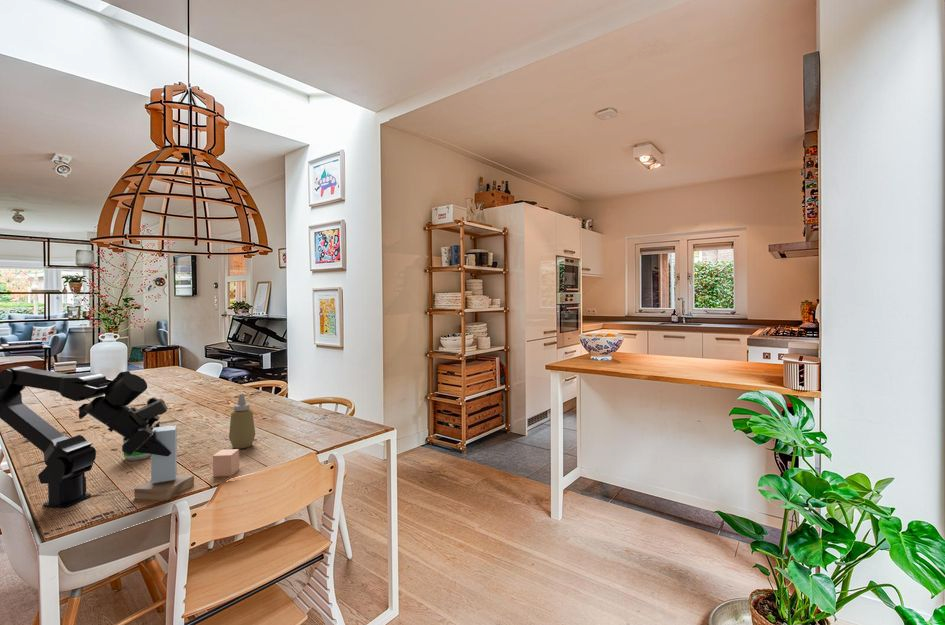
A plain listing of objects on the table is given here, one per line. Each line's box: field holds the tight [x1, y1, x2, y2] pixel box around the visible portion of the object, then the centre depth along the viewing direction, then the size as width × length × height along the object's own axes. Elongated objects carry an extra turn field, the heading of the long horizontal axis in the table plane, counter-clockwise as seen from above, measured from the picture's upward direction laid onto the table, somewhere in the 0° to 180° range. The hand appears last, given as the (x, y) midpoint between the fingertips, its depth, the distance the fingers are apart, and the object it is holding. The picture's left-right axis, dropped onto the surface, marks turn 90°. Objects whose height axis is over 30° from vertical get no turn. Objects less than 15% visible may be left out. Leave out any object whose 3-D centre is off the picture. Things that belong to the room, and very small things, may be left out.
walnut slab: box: [133, 474, 195, 501], centre depth 113 cm, size 9×9×3 cm
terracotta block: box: [212, 448, 240, 477], centre depth 125 cm, size 5×5×6 cm
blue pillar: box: [150, 424, 178, 483], centre depth 113 cm, size 5×5×13 cm
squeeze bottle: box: [228, 393, 256, 450], centre depth 148 cm, size 8×8×18 cm
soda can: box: [122, 436, 151, 461], centre depth 138 cm, size 8×8×12 cm
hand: (170, 451), depth 113 cm, fingers closed on blue pillar, 5 cm apart
